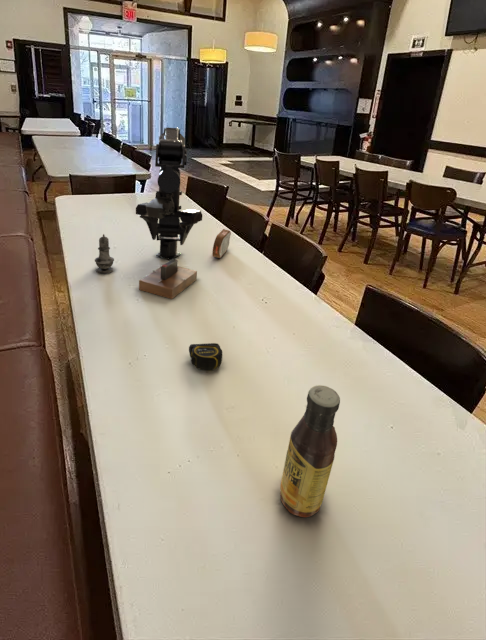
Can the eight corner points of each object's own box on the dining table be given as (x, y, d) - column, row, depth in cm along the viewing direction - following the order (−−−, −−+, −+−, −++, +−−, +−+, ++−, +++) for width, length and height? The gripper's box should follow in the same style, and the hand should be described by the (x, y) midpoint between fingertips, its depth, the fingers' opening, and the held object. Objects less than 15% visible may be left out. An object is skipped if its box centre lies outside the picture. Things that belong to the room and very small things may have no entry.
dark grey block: (172, 270, 126) (173, 257, 124) (177, 271, 125) (177, 259, 124) (160, 278, 120) (160, 265, 118) (165, 280, 119) (165, 266, 118)
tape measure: (218, 354, 93) (219, 339, 91) (224, 373, 86) (225, 358, 85) (188, 355, 91) (189, 341, 90) (191, 375, 85) (192, 359, 84)
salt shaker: (117, 267, 132) (116, 232, 128) (110, 275, 127) (109, 238, 122) (99, 265, 132) (97, 230, 128) (91, 272, 127) (90, 236, 123)
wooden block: (165, 271, 132) (165, 262, 131) (196, 279, 128) (197, 270, 127) (138, 289, 119) (138, 279, 118) (172, 299, 115) (172, 289, 114)
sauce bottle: (274, 482, 63) (292, 375, 56) (314, 481, 64) (337, 376, 56) (284, 523, 57) (305, 410, 50) (327, 522, 58) (355, 410, 50)
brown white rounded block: (222, 246, 157) (224, 225, 154) (230, 248, 157) (232, 227, 154) (210, 260, 144) (212, 237, 141) (219, 262, 143) (221, 239, 140)
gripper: (123, 186, 110) (123, 242, 115) (184, 194, 103) (182, 254, 108) (147, 183, 120) (146, 235, 125) (204, 190, 113) (201, 245, 118)
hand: (167, 242), depth 118 cm, fingers open, 9 cm apart
